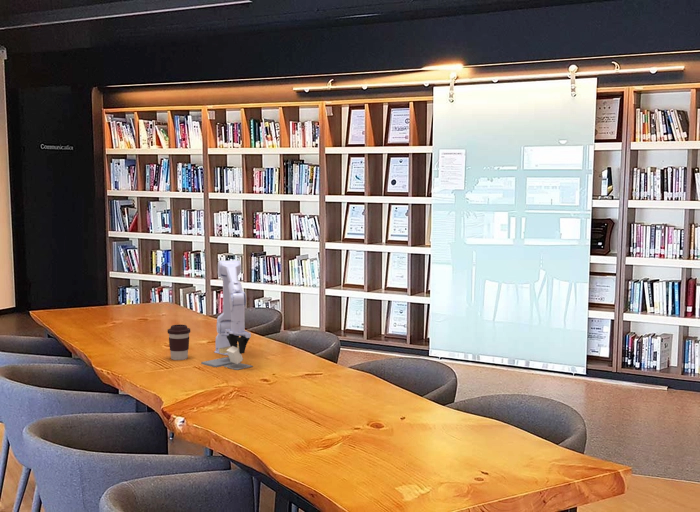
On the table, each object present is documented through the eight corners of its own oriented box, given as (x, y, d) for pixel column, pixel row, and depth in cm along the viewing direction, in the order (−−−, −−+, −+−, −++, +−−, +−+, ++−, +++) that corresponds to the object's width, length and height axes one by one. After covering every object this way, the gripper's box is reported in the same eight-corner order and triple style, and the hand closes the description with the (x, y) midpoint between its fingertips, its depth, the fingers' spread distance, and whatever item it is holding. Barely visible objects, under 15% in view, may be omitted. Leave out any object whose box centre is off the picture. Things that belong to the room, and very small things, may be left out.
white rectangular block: (226, 350, 325) (232, 345, 327) (230, 361, 328) (236, 356, 330) (233, 353, 322) (239, 348, 324) (237, 364, 325) (243, 359, 327)
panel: (201, 364, 332) (201, 353, 331) (226, 359, 342) (226, 349, 342) (215, 368, 325) (215, 357, 325) (241, 362, 336) (241, 352, 335)
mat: (223, 366, 327) (223, 366, 327) (239, 363, 334) (239, 362, 334) (236, 370, 321) (236, 369, 321) (253, 366, 328) (253, 365, 328)
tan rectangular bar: (219, 352, 333) (219, 348, 333) (237, 348, 342) (237, 344, 342) (223, 353, 332) (223, 349, 332) (241, 349, 341) (241, 345, 340)
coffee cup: (193, 356, 347) (193, 324, 346) (186, 361, 337) (186, 327, 336) (172, 356, 348) (171, 323, 347) (164, 361, 338) (164, 327, 337)
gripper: (219, 320, 328) (219, 351, 329) (241, 324, 318) (241, 356, 319) (232, 318, 333) (232, 349, 334) (254, 322, 324) (254, 353, 325)
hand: (238, 352), depth 327 cm, fingers closed on white rectangular block, 4 cm apart
